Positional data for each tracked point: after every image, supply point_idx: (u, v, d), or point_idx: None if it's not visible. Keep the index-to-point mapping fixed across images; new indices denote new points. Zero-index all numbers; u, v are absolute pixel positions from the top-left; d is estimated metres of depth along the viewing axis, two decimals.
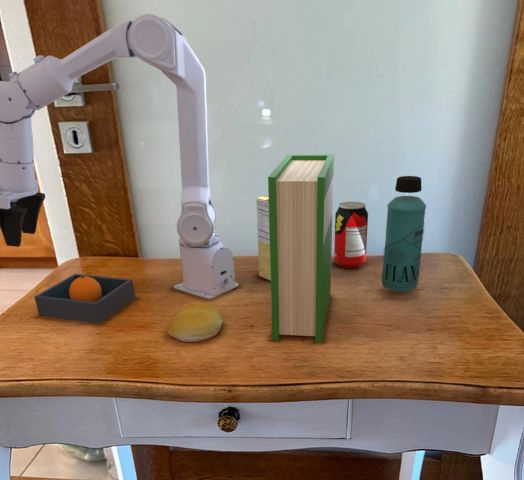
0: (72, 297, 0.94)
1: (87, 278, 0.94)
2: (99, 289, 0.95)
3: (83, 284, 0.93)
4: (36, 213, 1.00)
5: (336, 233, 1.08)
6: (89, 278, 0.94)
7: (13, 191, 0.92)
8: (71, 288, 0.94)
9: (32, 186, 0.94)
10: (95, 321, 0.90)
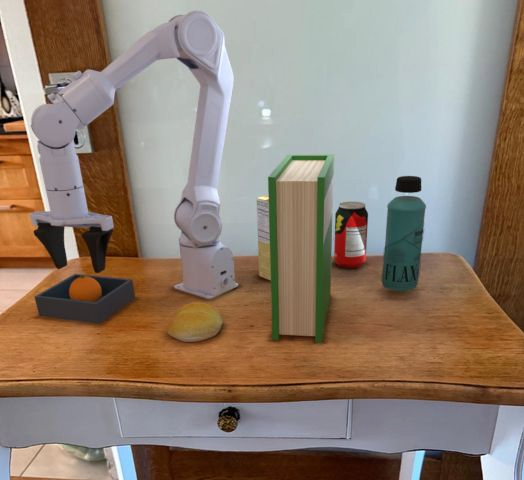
0: (72, 297, 0.94)
1: (87, 278, 0.94)
2: (99, 289, 0.95)
3: (83, 284, 0.93)
4: (63, 242, 0.94)
5: (336, 233, 1.08)
6: (89, 278, 0.94)
7: (87, 215, 0.89)
8: (71, 288, 0.94)
9: None
10: (95, 321, 0.90)
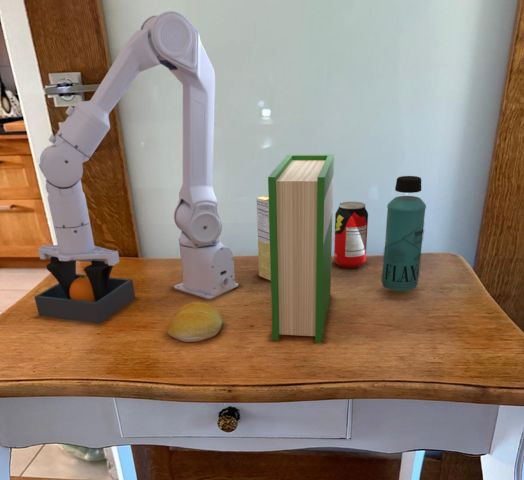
0: (72, 297, 0.94)
1: (87, 278, 0.94)
2: None
3: (83, 284, 0.93)
4: (75, 275, 0.97)
5: (336, 233, 1.08)
6: None
7: (93, 250, 0.91)
8: (71, 288, 0.94)
9: None
10: (95, 321, 0.90)
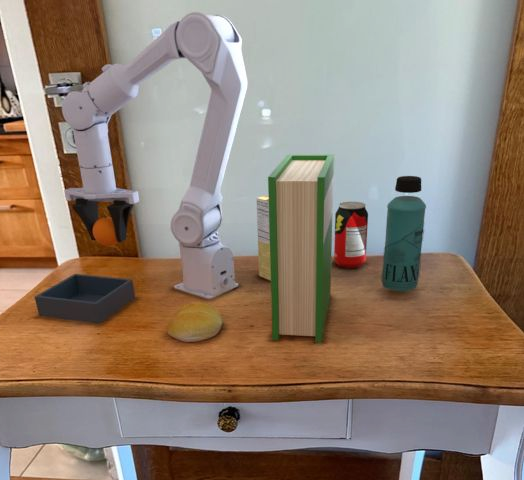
0: (95, 235, 1.02)
1: (109, 218, 1.03)
2: None
3: (106, 223, 1.02)
4: (97, 216, 1.05)
5: (336, 233, 1.08)
6: (111, 218, 1.03)
7: (115, 190, 1.00)
8: (95, 227, 1.02)
9: None
10: (95, 321, 0.90)
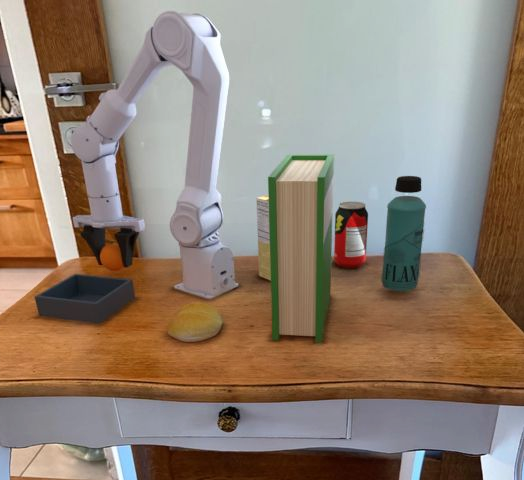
0: (103, 261, 1.06)
1: (116, 244, 1.06)
2: None
3: (113, 249, 1.05)
4: (104, 242, 1.09)
5: (336, 233, 1.08)
6: None
7: (122, 218, 1.04)
8: (102, 253, 1.06)
9: None
10: (95, 321, 0.90)
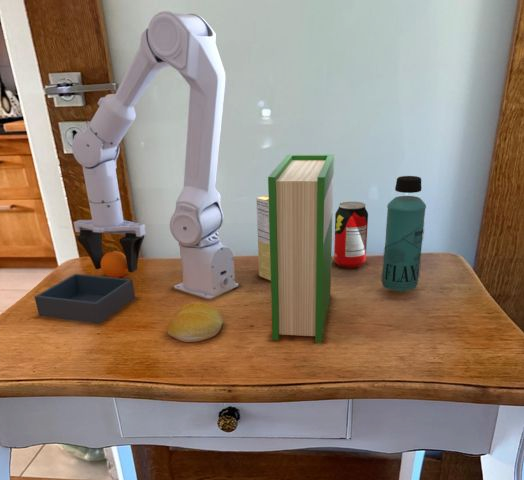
0: (103, 269, 1.07)
1: (116, 252, 1.07)
2: None
3: (113, 257, 1.06)
4: (101, 246, 1.10)
5: (336, 233, 1.08)
6: (117, 252, 1.08)
7: (123, 223, 1.04)
8: (102, 261, 1.07)
9: None
10: (95, 321, 0.90)
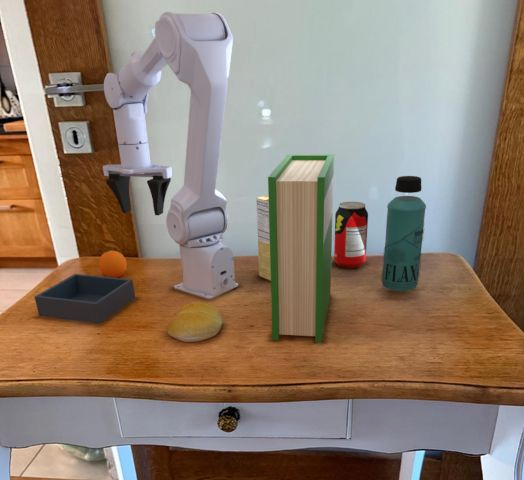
0: (102, 269, 1.07)
1: (111, 251, 1.08)
2: (123, 259, 1.08)
3: (109, 256, 1.06)
4: (128, 191, 1.14)
5: (336, 233, 1.08)
6: (113, 251, 1.08)
7: (150, 166, 1.08)
8: (99, 262, 1.07)
9: None
10: (95, 321, 0.90)
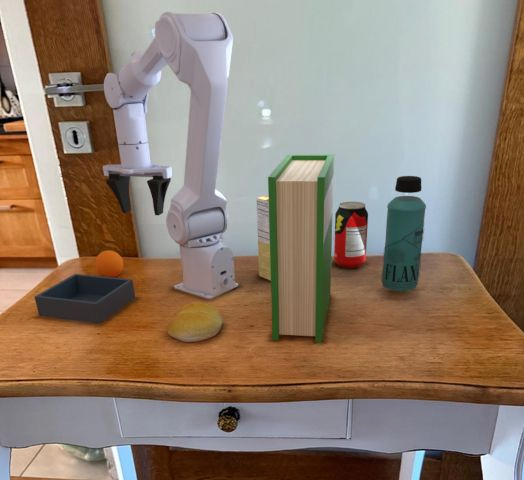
0: (99, 270, 1.07)
1: (105, 251, 1.08)
2: (117, 255, 1.08)
3: (102, 255, 1.07)
4: (128, 191, 1.14)
5: (336, 233, 1.08)
6: None
7: (150, 166, 1.08)
8: (95, 264, 1.08)
9: None
10: (95, 321, 0.90)
